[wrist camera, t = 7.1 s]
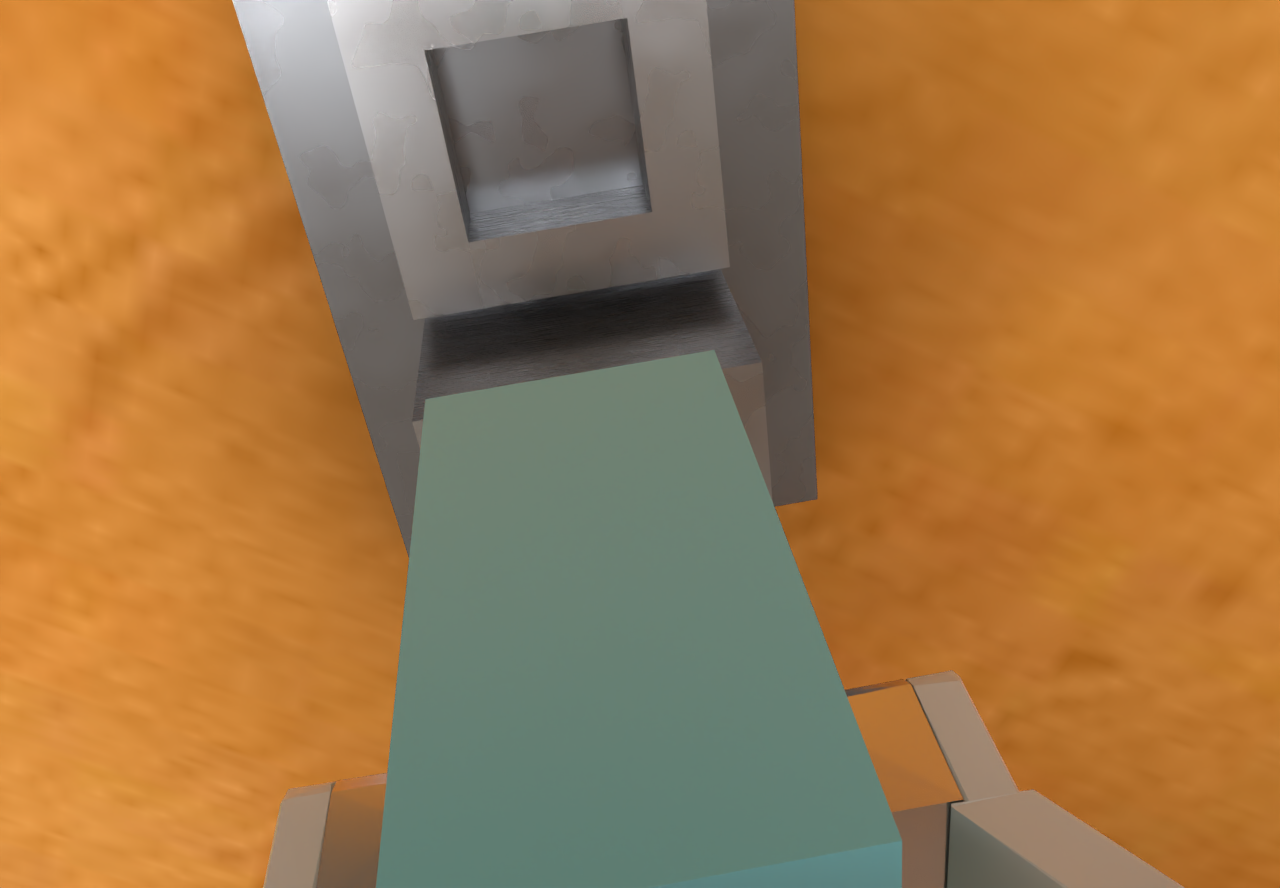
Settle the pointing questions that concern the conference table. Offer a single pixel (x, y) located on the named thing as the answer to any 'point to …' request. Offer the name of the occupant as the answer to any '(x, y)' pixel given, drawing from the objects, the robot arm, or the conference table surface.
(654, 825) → the plug
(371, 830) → the robot arm
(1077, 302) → the conference table surface
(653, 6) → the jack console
